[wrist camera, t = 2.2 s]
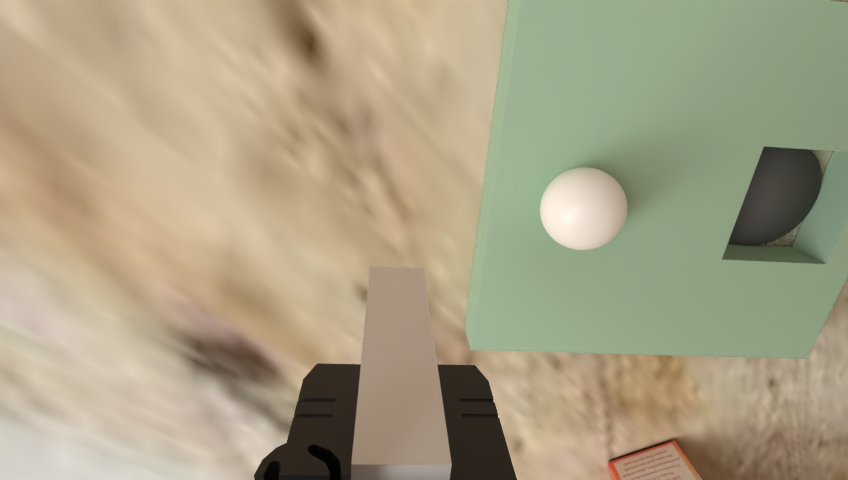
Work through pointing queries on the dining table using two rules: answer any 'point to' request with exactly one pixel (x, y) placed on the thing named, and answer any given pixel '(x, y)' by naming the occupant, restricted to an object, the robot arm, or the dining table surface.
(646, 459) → the cracker box
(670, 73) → the green
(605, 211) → the ball
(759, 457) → the dining table surface
